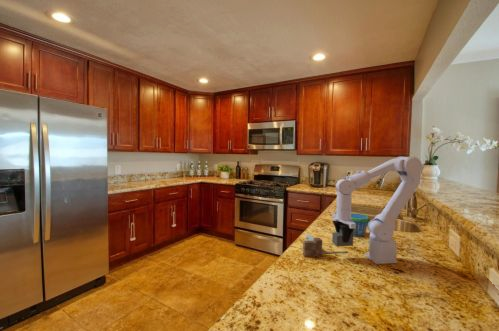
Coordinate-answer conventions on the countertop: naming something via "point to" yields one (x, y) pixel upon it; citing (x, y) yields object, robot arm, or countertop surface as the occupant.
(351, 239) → the stepped block
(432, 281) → the countertop surface
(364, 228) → the snack cup
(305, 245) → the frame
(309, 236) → the pale grey bar
